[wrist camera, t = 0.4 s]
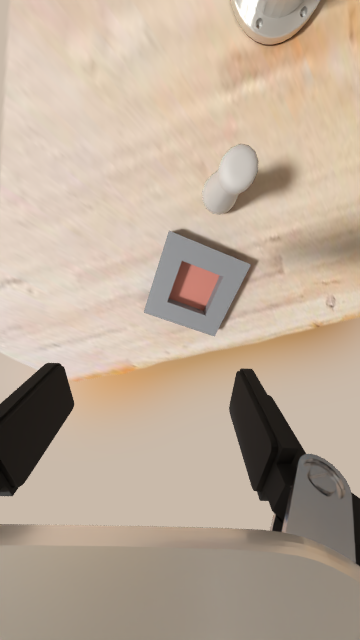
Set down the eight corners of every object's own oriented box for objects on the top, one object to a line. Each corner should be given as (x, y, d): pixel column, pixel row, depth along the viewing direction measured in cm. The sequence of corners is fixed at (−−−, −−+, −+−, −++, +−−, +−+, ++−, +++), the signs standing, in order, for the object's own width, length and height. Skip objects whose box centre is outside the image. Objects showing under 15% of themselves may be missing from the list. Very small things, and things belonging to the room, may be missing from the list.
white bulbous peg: (240, 191, 30) (280, 156, 18) (220, 223, 32) (244, 210, 20) (213, 168, 29) (237, 114, 17) (194, 203, 31) (203, 176, 19)
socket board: (169, 231, 33) (169, 230, 30) (245, 263, 35) (251, 264, 32) (146, 307, 38) (143, 312, 36) (212, 330, 41) (214, 336, 38)
